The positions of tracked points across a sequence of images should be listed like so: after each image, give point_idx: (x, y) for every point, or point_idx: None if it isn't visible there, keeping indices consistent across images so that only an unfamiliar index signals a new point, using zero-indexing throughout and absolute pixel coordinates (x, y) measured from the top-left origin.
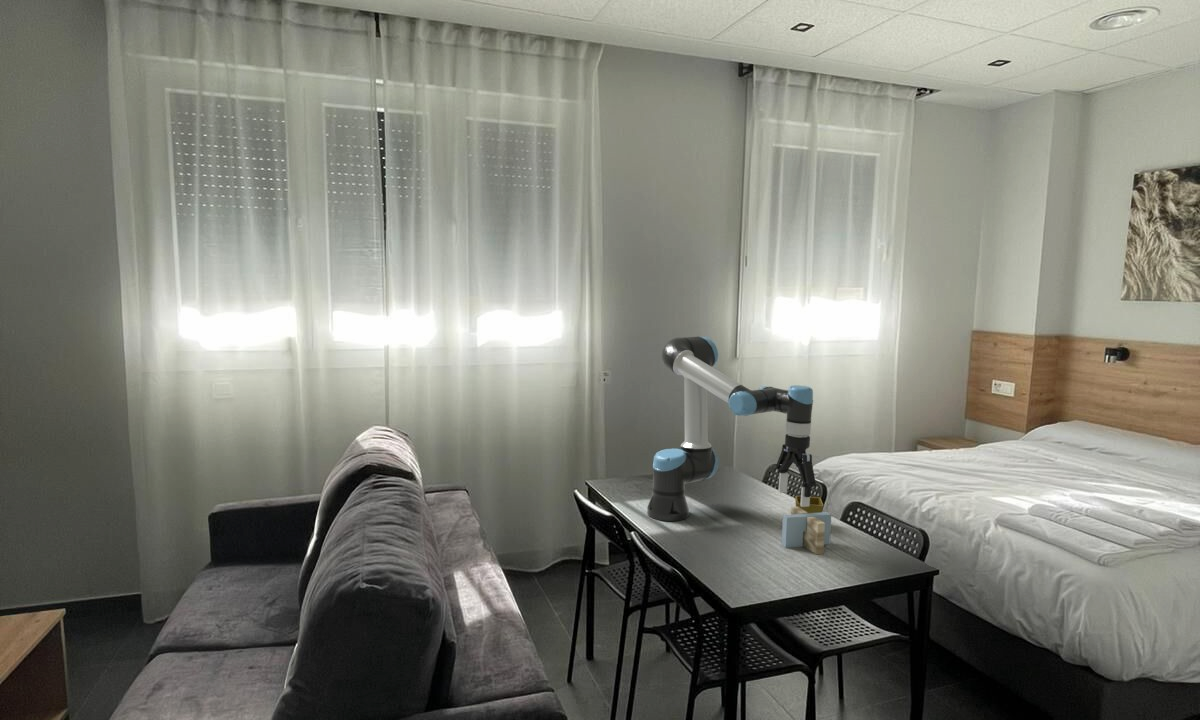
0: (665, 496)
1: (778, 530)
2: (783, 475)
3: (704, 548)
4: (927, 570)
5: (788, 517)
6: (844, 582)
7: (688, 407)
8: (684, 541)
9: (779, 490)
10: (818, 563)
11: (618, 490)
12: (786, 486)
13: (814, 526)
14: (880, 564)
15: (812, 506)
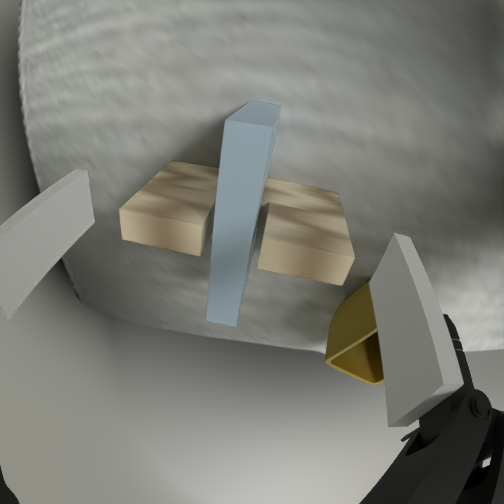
0: None
1: (392, 196)
2: (417, 382)
3: None
4: (83, 302)
5: (226, 130)
6: (35, 126)
7: None
8: None
9: (401, 244)
10: (119, 126)
11: None
12: (379, 313)
13: (150, 203)
14: (102, 260)
15: (349, 341)
